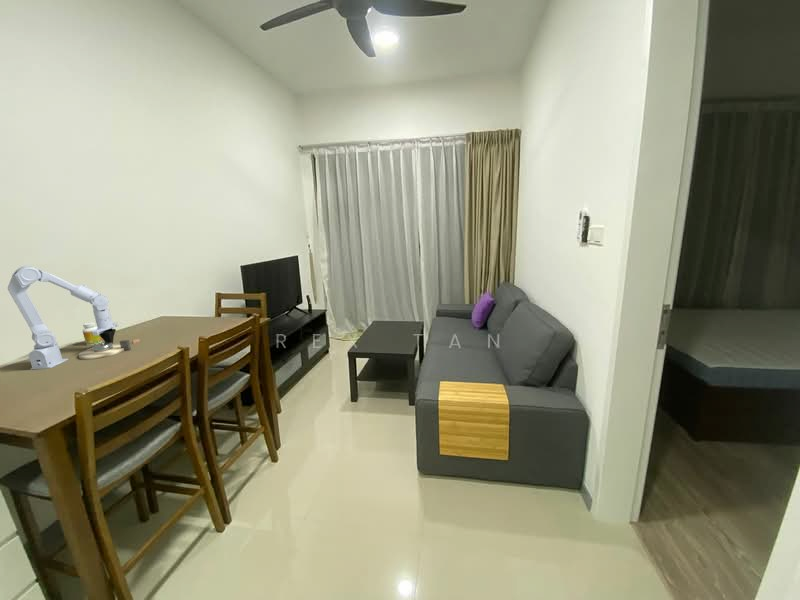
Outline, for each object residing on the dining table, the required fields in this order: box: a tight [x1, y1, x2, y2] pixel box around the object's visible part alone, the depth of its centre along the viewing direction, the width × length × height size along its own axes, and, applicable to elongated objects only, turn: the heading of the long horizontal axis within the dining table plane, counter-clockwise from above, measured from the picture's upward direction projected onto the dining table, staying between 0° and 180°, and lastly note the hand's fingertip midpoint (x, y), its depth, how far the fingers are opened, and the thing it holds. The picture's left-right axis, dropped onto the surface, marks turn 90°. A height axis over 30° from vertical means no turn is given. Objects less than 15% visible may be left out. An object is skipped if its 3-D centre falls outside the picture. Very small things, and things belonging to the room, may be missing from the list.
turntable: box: [78, 339, 132, 361], centre depth 156 cm, size 18×20×5 cm
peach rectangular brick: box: [131, 338, 141, 344], centre depth 169 cm, size 3×1×2 cm, turn 160°
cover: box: [92, 341, 113, 352], centre depth 156 cm, size 7×7×3 cm
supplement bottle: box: [82, 321, 103, 346], centre depth 169 cm, size 6×6×11 cm
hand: (109, 344), depth 160 cm, fingers closed
